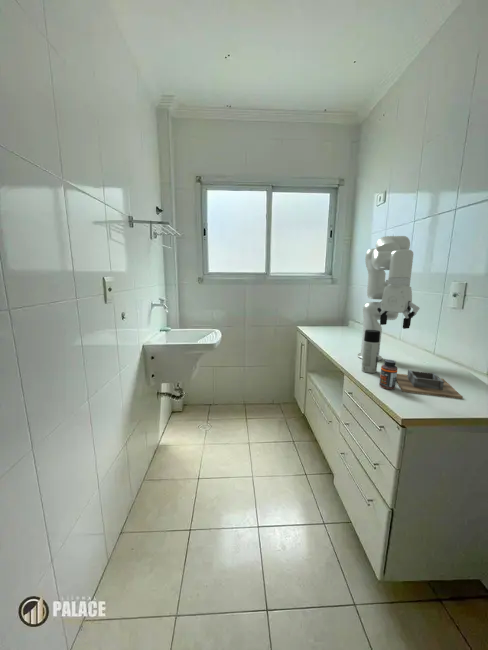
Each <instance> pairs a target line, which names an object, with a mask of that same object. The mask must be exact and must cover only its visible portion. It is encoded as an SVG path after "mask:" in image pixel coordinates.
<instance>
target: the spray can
mask: <svg viewBox="0 0 488 650" xmlns="http://www.w3.org/2000/svg"><path fill="white" fill-rule="evenodd" d="M379 341H380V331H378V330H365V336H364V347H363V359H361V360H362V361H361V371H363V372H364V373H367V374H375V373H377V370H378V362H379V361H378V351H379Z"/></svg>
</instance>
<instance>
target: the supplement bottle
mask: <svg viewBox="0 0 488 650" xmlns="http://www.w3.org/2000/svg"><path fill="white" fill-rule="evenodd" d="M397 374H398V367H397V366H396V360H392V359H385V360H384V364H382V365H381V367H380V375H379V382H378V383H379V387H380V388H383V389H385V390H395V389H396V384H397V382H396V378H397Z"/></svg>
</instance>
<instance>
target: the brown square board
mask: <svg viewBox="0 0 488 650" xmlns="http://www.w3.org/2000/svg"><path fill="white" fill-rule="evenodd" d="M396 384H397V385H398V386H399V388H400V390H401V392H404V393H413V394H418V395H427V396H435V397H443V398H451V399H458V400H462V399H463V395H461V394H460V393H459V392H458V391H457V390H456V389H455V388H454V387H453V386H452V385H450V384H449V382H448V381H446V380H445V379H444V378H443V377H442V378H440V376H439V375H437V374H436V373H435V372H428V371H427V372H426V371H417V370H410V369H408V370H407V374H405V373H397V378H396Z"/></svg>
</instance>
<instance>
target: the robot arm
mask: <svg viewBox="0 0 488 650" xmlns="http://www.w3.org/2000/svg"><path fill="white" fill-rule="evenodd" d="M410 248H411V241H410V238H409V237H408V236H405V235H390V236H389V235H386V236H382V237H380V238H379V239H378V240H377V241H376V243H375V248H373V247H372V248H370V249H368V250H366V252H365V258H364V260H365V261H364V262H365V267H366V269H367V276H368V277H367V288H366V289H367V291H366V293H367V295H366V296H367V298H368V299H371V300H376V301H369V302H366V303H365V304H364V305H363V307H362V308H363V309H362V314H363V315H362V316H363V320H362V321H363V322H362V324H363V327H362V335H361V345H360V346H361V348H360V353H359V352H358V354H357V357H358V358H359V359H361V360H362V359H363V347H364V336H365V330H378V331H380V341H379V351H378V361H377V362H379V361H382V359H383V357H382V356H381V355H380V349H381V340H382V332H383V327H382V326H383V325H384V326H385V325H387V323H388V321H395V320H397V318H398V317H399V313H400V314H403V316H404V318H403V321H402V328H403V329H406V330H407V329H410V327H411V321H412V318H414V317H415V316H416V315H417V313H418V312H419V311H420V306H418V305H416V304H415V303H413V290H412V286H411V280H412V279H411V278H412V269H413V263H414V261H413V260H414V251H413V250H411V249H410ZM386 271H388V279H386V275H387V274H386ZM377 300H379V301H377ZM380 300H381V301H380Z"/></svg>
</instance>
